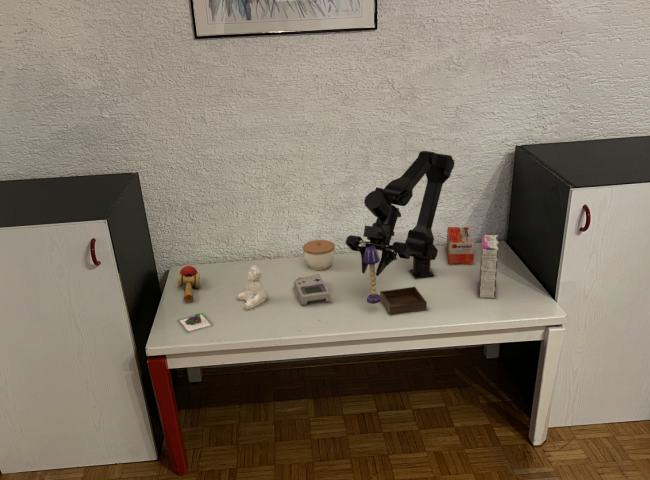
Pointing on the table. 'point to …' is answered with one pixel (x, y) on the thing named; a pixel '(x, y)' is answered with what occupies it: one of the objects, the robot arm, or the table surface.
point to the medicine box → (460, 245)
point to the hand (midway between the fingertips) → (369, 274)
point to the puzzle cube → (195, 322)
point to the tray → (403, 300)
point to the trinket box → (319, 254)
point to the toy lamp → (372, 273)
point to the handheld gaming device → (311, 289)
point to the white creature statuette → (253, 289)
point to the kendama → (188, 281)
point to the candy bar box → (488, 266)
